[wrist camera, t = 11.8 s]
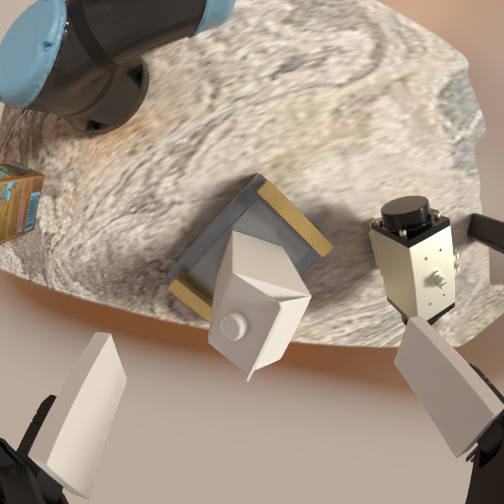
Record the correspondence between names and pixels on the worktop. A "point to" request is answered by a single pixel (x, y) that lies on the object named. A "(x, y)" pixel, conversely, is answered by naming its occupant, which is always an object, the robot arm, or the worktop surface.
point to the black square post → (487, 232)
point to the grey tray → (250, 223)
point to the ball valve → (415, 258)
